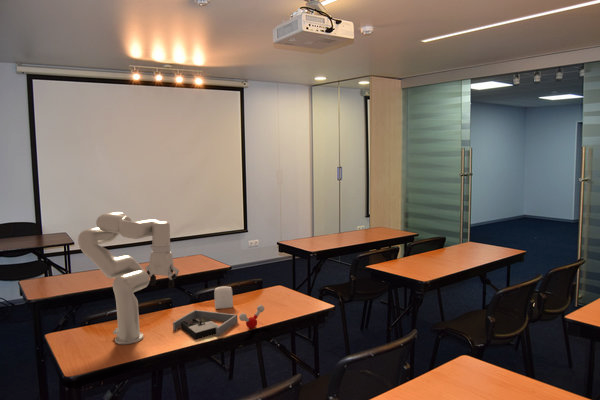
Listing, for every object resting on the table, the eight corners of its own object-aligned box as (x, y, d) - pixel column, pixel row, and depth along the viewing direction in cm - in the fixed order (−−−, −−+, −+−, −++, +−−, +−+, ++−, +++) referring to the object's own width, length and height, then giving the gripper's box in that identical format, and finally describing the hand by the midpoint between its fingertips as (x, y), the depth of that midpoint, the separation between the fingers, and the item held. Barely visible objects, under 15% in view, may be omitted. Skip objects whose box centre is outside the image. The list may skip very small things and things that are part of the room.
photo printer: (214, 309, 244) (213, 288, 243) (215, 307, 249) (214, 286, 248) (233, 308, 246) (232, 287, 245) (233, 305, 250) (232, 284, 249)
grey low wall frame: (173, 330, 216) (172, 322, 215) (195, 317, 233) (195, 309, 233) (218, 336, 206) (217, 328, 206) (237, 322, 224) (237, 314, 224)
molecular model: (247, 335, 206) (246, 315, 205) (237, 333, 209) (236, 313, 208) (266, 323, 222) (265, 304, 221) (256, 321, 224) (255, 302, 223)
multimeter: (204, 322, 226) (204, 313, 226) (221, 333, 211) (220, 323, 210) (180, 328, 218) (180, 319, 218) (195, 340, 203) (195, 330, 202)
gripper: (139, 249, 191) (140, 286, 193) (172, 252, 185) (173, 291, 187) (150, 245, 198) (151, 282, 200) (182, 249, 193) (183, 286, 194)
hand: (162, 286), depth 194 cm, fingers open, 9 cm apart
